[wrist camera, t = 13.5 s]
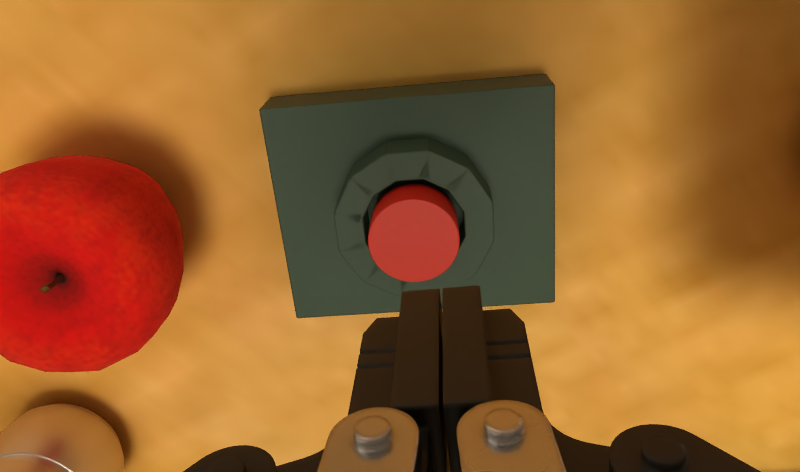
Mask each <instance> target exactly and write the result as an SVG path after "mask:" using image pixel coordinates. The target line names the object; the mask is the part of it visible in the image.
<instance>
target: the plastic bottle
mask: <svg viewBox="0 0 800 472" xmlns="http://www.w3.org/2000/svg"><path fill="white" fill-rule="evenodd" d="M123 469H124V455H123V451H122V447H121V444H120V440H119V438H118V436H117V434H116V432H115V431H114V430H113V428H112V427H111V426H110V425H109V424H108V423H107V422H106V421H105V420H104V419H103V418H101V417H100V416H99V415H97V414H96V413H94V412H92V411H90V410H88V409H86V408H83V407H80V406H77V405H71V404H52V405H46V406H41V407H37V408H34V409H31V410H29V411H27V412H26V413H24V414H23V415H21V416H20V417H19V418H18V419H16V420H15V421H14V422H13V423H12V424H10V425H9V426H8V427H7V428H6V429H4V430H3V432H2V433H1V434H0V472H123Z"/></svg>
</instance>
